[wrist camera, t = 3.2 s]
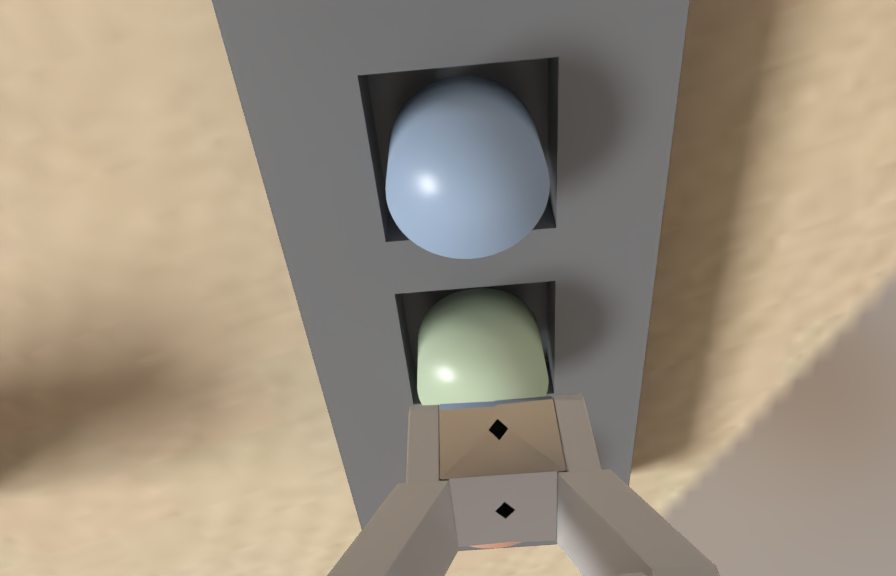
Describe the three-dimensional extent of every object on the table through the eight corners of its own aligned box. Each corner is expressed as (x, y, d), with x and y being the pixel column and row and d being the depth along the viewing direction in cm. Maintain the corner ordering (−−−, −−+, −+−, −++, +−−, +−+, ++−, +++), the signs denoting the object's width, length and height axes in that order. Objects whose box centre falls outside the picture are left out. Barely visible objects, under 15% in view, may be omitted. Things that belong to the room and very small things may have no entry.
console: (236, -55, 20) (205, -24, 17) (659, -97, 19) (698, -73, 16) (374, 494, 35) (369, 556, 33) (606, 478, 35) (622, 539, 32)
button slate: (379, 83, 19) (373, 122, 17) (537, 68, 19) (550, 106, 17) (400, 217, 22) (396, 265, 20) (538, 205, 22) (549, 252, 20)
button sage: (411, 293, 24) (409, 344, 22) (538, 283, 24) (548, 333, 21) (424, 382, 26) (424, 435, 24) (538, 374, 26) (548, 426, 24)
